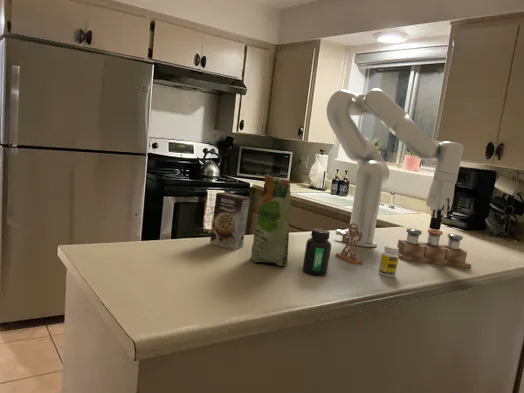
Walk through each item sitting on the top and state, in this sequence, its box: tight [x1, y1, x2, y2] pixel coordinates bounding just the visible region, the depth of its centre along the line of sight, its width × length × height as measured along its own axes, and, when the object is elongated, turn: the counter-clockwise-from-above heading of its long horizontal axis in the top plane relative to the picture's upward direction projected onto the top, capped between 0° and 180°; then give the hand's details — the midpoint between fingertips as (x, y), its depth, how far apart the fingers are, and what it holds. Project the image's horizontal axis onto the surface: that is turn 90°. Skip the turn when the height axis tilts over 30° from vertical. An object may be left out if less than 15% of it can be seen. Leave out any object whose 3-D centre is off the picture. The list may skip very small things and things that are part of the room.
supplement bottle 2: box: [378, 244, 399, 278], centre depth 129 cm, size 5×5×8 cm
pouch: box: [250, 173, 292, 267], centre depth 124 cm, size 11×12×25 cm
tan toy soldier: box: [334, 223, 363, 266], centre depth 139 cm, size 9×4×12 cm, turn 30°
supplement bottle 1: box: [302, 228, 332, 277], centre depth 121 cm, size 7×7×12 cm
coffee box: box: [209, 191, 251, 251], centre depth 137 cm, size 9×6×16 cm
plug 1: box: [405, 227, 422, 245], centre depth 155 cm, size 5×5×8 cm
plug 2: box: [446, 233, 464, 250], centre depth 156 cm, size 5×5×8 cm
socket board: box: [396, 239, 472, 269], centre depth 156 cm, size 25×10×5 cm, turn 93°
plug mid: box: [426, 228, 443, 248], centre depth 155 cm, size 5×5×8 cm
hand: (434, 228), depth 155 cm, fingers closed
